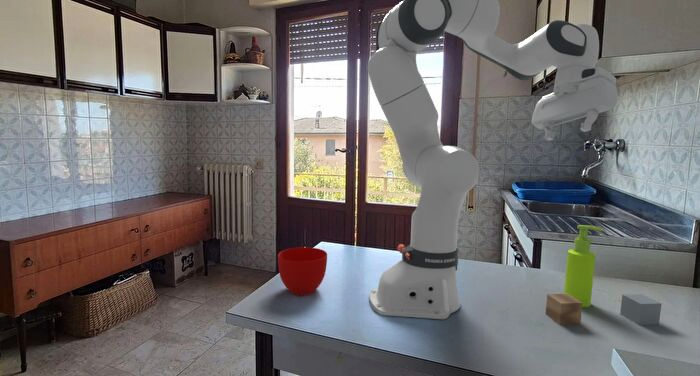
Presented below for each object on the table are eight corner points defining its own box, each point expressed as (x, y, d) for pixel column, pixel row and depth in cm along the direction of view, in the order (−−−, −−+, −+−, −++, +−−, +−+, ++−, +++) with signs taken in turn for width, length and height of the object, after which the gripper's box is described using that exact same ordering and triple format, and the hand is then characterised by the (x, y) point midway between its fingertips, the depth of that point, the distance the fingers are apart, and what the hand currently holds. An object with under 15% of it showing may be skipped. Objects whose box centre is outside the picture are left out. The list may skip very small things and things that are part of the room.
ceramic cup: (337, 279, 105) (338, 245, 104) (316, 303, 89) (316, 264, 88) (296, 274, 109) (296, 241, 108) (268, 296, 93) (268, 258, 91)
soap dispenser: (595, 310, 88) (604, 229, 86) (562, 303, 92) (570, 226, 89) (594, 302, 93) (602, 225, 91) (563, 295, 97) (570, 222, 94)
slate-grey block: (638, 325, 82) (640, 303, 81) (620, 314, 86) (622, 294, 86) (658, 324, 82) (661, 303, 81) (639, 314, 87) (642, 294, 86)
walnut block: (559, 324, 81) (561, 303, 80) (545, 314, 86) (547, 294, 85) (580, 324, 81) (582, 302, 81) (565, 313, 86) (567, 293, 86)
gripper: (530, 94, 101) (522, 139, 98) (607, 64, 83) (600, 119, 80) (546, 103, 103) (538, 148, 100) (624, 76, 85) (618, 130, 82)
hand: (566, 135), depth 90 cm, fingers open, 8 cm apart
